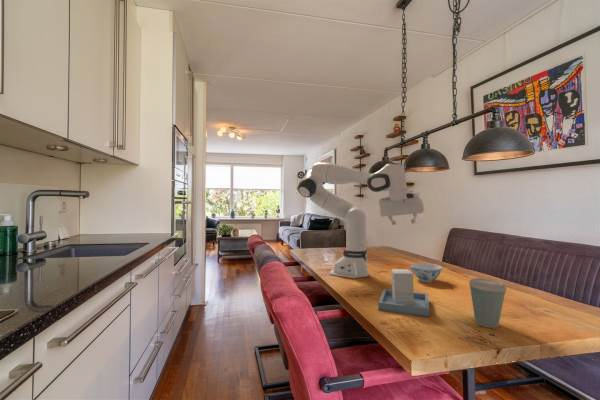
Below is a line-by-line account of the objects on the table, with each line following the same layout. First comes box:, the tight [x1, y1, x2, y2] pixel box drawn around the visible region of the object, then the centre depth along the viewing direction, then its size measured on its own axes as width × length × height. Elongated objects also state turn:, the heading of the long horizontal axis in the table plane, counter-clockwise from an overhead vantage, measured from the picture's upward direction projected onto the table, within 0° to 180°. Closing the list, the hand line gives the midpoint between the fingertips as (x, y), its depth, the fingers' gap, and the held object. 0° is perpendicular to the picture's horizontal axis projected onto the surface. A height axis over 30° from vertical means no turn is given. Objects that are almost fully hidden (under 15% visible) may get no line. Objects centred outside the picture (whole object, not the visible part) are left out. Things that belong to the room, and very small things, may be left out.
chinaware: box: [410, 262, 443, 283], centre depth 148 cm, size 15×15×8 cm
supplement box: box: [391, 268, 414, 305], centre depth 114 cm, size 7×7×13 cm
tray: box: [378, 288, 431, 318], centre depth 113 cm, size 18×18×3 cm
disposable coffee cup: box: [468, 277, 507, 329], centre depth 95 cm, size 11×11×15 cm
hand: (403, 223), depth 135 cm, fingers open, 8 cm apart
